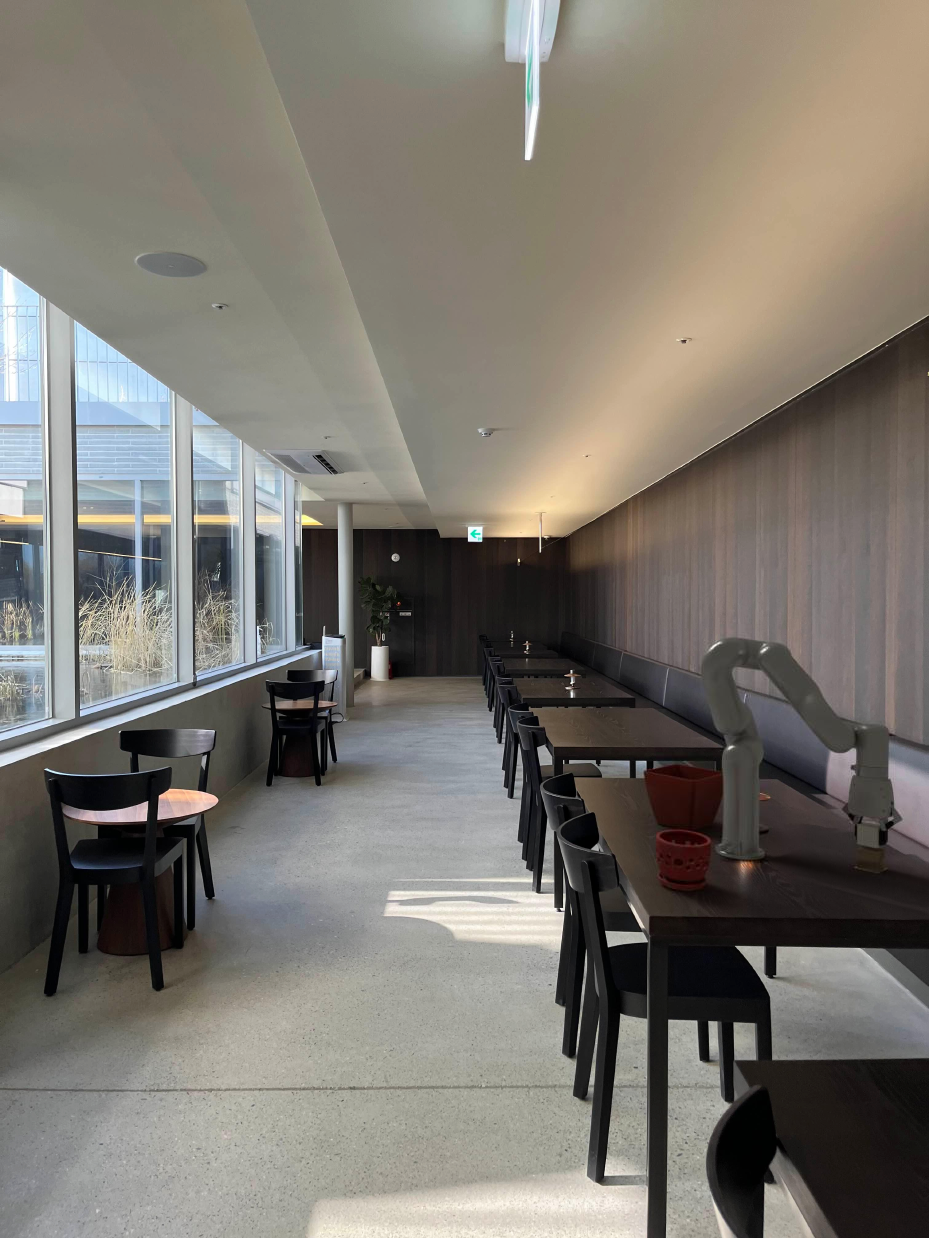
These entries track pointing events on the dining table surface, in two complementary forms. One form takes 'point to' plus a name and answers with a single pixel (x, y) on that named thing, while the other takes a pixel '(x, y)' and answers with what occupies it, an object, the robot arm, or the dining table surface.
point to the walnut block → (871, 858)
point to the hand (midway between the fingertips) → (871, 841)
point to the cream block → (868, 834)
